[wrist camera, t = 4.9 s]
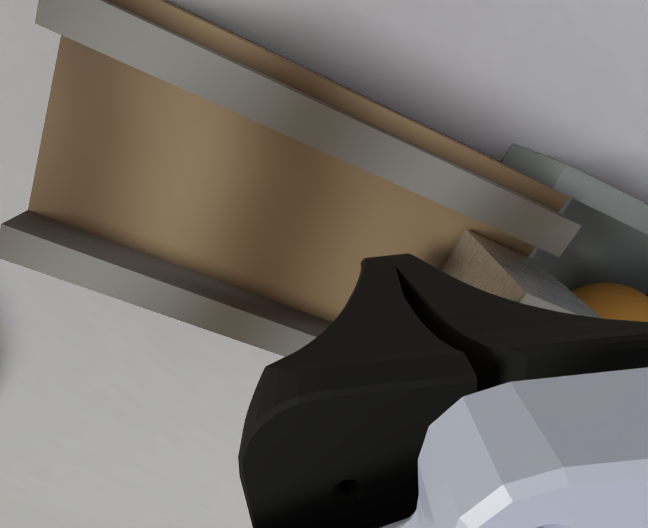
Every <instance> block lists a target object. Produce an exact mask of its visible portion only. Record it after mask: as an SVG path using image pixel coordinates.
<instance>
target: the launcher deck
mask: <svg viewBox="0 0 648 528" xmlns="http://www.w3.org/2000/svg"><path fill="white" fill-rule="evenodd" d="M35 23H36V24H38V25H40V26H42V27H45V28H47V29H49V30H51V31H54V32H56V33H58V34H60V35H61V39H60V45H59V50H58V55H57V60H56V66H55V71H54V76H53V81H52V87H51V92H50V97H49V102H48V108H47V113H46V118H45V123H44V129H43V134H42V139H41V144H40V150H39V155H38V160H37V166H36V171H35V176H34V181H33V187H32V192H31V197H30V202H29V208H28V210H27V211H25V212H23V213H22V214H20V215H18V216H16V217H14V218H12V219H10V220H8V221H6V222H4V223H2V224H1V229H0V258H1V259H3V260H6V261H9V262H12V263H15V264H18V265H21V266H24V267H27V268H30V269H32V270H35V271H38V272H41V273H44V274H47V275H50V276H53V277H56V278H59V279H61V280H64V281H67V282H70V283H73V284H76V285H79V286H82V287H85V288H88V289H90V290H93V291H96V292H99V293H102V294H105V295H108V296H111V297H114V298H117V299H119V300H122V301H125V302H128V303H131V304H134V305H137V306H140V307H143V308H146V309H148V310H151V311H154V312H157V313H160V314H163V315H166V316H169V317H172V318H174V319H177V320H180V321H183V322H186V323H189V324H192V325H195V326H198V327H201V328H203V329H206V330H209V331H212V332H215V333H218V334H221V335H224V336H227V337H230V338H232V339H235V340H238V341H241V342H244V343H247V344H250V345H253V346H256V347H259V348H261V349H264V350H267V351H270V352H273V353H276V354H279V355H282V356H285V357H286V356H288V355H290V354H292V353H294V352H296V351H297V350H299V349H301V348H302V347H304V346H305V345H307V344H308V343H310V342H311V341H312V340H314V339H315V338H316V337H318V336H319V335H320V334H321V333H322V332H323V331H325V330H326V329H327V328H328V327H329V326H330V325H331V324H332V323H333V321H334V320H335V319H336V318H337V316H338V315H339V314H340V312H341V311H342V310H343V308H344V307H345V305H346V303H347V302H348V300H349V298H350V296H351V294H352V292H353V291H354V288H355V286H356V283H357V281H358V278H359V275H360V272H361V261H362V260H363V259H364V258H369V257H378V256H388V255H397V254H406V253H409V254H411V255H414V256H415V257H417V258H419V259H421V260H423V261H424V262H426V263H428V264H430V265H432V266H433V267H435V268H437V269H439V270H442V268H443V266H444V265H445V263H446V261H447V260H448V258H449V256H450V255H451V253H452V251H453V250H454V248H455V246H456V245H457V243H458V241H459V240H460V238H461V236H462V235H463V233H464V231H465V230H466V229H467V230H469V231H471V232H474V233H476V234H478V235H481V236H483V237H485V238H487V239H490V240H492V241H494V242H496V243H499V244H501V245H503V246H505V247H508V248H510V249H512V250H515V251H517V252H519V253H521V254H524V255H526V256H528V257H529V256H530V254H531V253H532V251H533V250H534V248H535V247H537V248H539V249H542V250H544V251H546V252H548V253H550V254H553V255H555V256H557V257H560V256H561V254H562V253H563V252H564V250H565V249H566V247H567V246H568V245H569V243H570V242H571V240H572V239H573V237H574V236H575V235H576V233H577V232H578V230H579V229H580V228H581V225H579V224H577V223H576V222H574V221H572V220H571V219H569V218H567V217H566V216H564V215H562V214H560V213H559V212H560V210H561V209H562V207H563V206H564V204H565V203H566V201H567V200H568V198H569V197H568V196H566V195H564V194H562V193H560V192H558V191H556V190H554V189H552V188H550V187H548V186H546V185H544V184H542V183H540V182H538V181H536V180H534V179H532V178H530V177H529V176H527V175H525V174H523V173H521V172H519V171H517V170H515V169H513V168H511V167H509V166H507V165H505V164H503V163H501V162H499V161H497V160H495V159H493V158H491V157H489V156H487V155H485V154H483V153H480V152H478V151H476V150H474V149H472V148H470V147H468V146H466V145H464V144H462V143H460V142H458V141H456V140H453V139H451V138H449V137H447V136H445V135H443V134H441V133H439V132H437V131H435V130H433V129H431V128H429V127H427V126H424V125H422V124H420V123H418V122H416V121H414V120H412V119H410V118H408V117H406V116H404V115H402V114H400V113H397V112H395V111H393V110H391V109H389V108H387V107H385V106H383V105H381V104H379V103H377V102H375V101H373V100H370V99H368V98H366V97H364V96H362V95H360V94H358V93H356V92H354V91H352V90H350V89H348V88H346V87H344V86H341V85H339V84H337V83H335V82H333V81H331V80H329V79H327V78H325V77H323V76H321V75H319V74H317V73H314V72H312V71H310V70H308V69H306V68H304V67H302V66H300V65H298V64H296V63H294V62H292V61H290V60H288V59H285V58H283V57H281V56H279V55H277V54H275V53H273V52H271V51H269V50H267V49H265V48H263V47H261V46H258V45H256V44H254V43H252V42H250V41H248V40H246V39H244V38H242V37H240V36H238V35H236V34H234V33H231V32H229V31H227V30H225V29H223V28H221V27H219V26H217V25H215V24H213V23H211V22H209V21H207V20H205V19H202V18H200V17H198V16H196V15H194V14H192V13H190V12H188V11H186V10H184V9H182V8H180V7H178V6H175V5H173V4H171V3H169V2H167V1H165V0H39V2H38V8H37V14H36V20H35Z"/></svg>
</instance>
